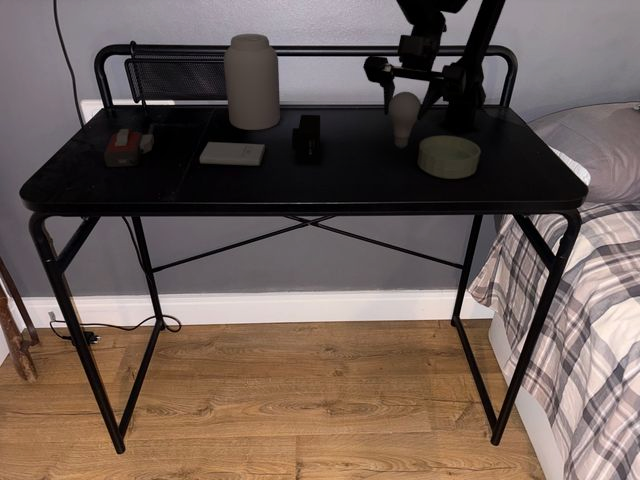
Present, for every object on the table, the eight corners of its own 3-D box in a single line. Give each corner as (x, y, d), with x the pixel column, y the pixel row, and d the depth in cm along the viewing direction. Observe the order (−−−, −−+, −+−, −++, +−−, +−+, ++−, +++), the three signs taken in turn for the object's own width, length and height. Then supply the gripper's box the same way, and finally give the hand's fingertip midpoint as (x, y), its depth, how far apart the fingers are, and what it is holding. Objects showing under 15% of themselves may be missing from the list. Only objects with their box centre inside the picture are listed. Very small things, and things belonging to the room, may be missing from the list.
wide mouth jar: (290, 119, 126) (288, 35, 115) (259, 135, 117) (254, 46, 106) (251, 108, 131) (245, 27, 120) (218, 124, 123) (209, 38, 111)
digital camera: (296, 143, 114) (295, 113, 110) (320, 144, 114) (320, 114, 110) (292, 163, 106) (291, 132, 102) (318, 164, 105) (318, 133, 101)
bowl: (451, 150, 112) (454, 131, 109) (488, 173, 103) (493, 153, 101) (405, 160, 108) (408, 141, 105) (440, 185, 99) (444, 165, 96)
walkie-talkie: (148, 168, 103) (158, 130, 119) (144, 148, 101) (155, 112, 117) (103, 170, 102) (119, 131, 118) (98, 150, 99) (115, 113, 115)
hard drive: (209, 148, 112) (265, 150, 111) (200, 164, 105) (259, 166, 104) (208, 141, 111) (264, 143, 110) (199, 157, 104) (258, 159, 103)
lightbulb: (396, 157, 95) (402, 100, 89) (378, 144, 99) (383, 90, 93) (422, 150, 97) (430, 95, 91) (404, 139, 102) (410, 85, 95)
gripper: (369, 9, 91) (344, 88, 89) (474, 19, 84) (450, 104, 83) (380, 44, 101) (358, 115, 99) (474, 55, 95) (452, 131, 93)
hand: (401, 116), depth 93 cm, fingers closed on lightbulb, 6 cm apart
